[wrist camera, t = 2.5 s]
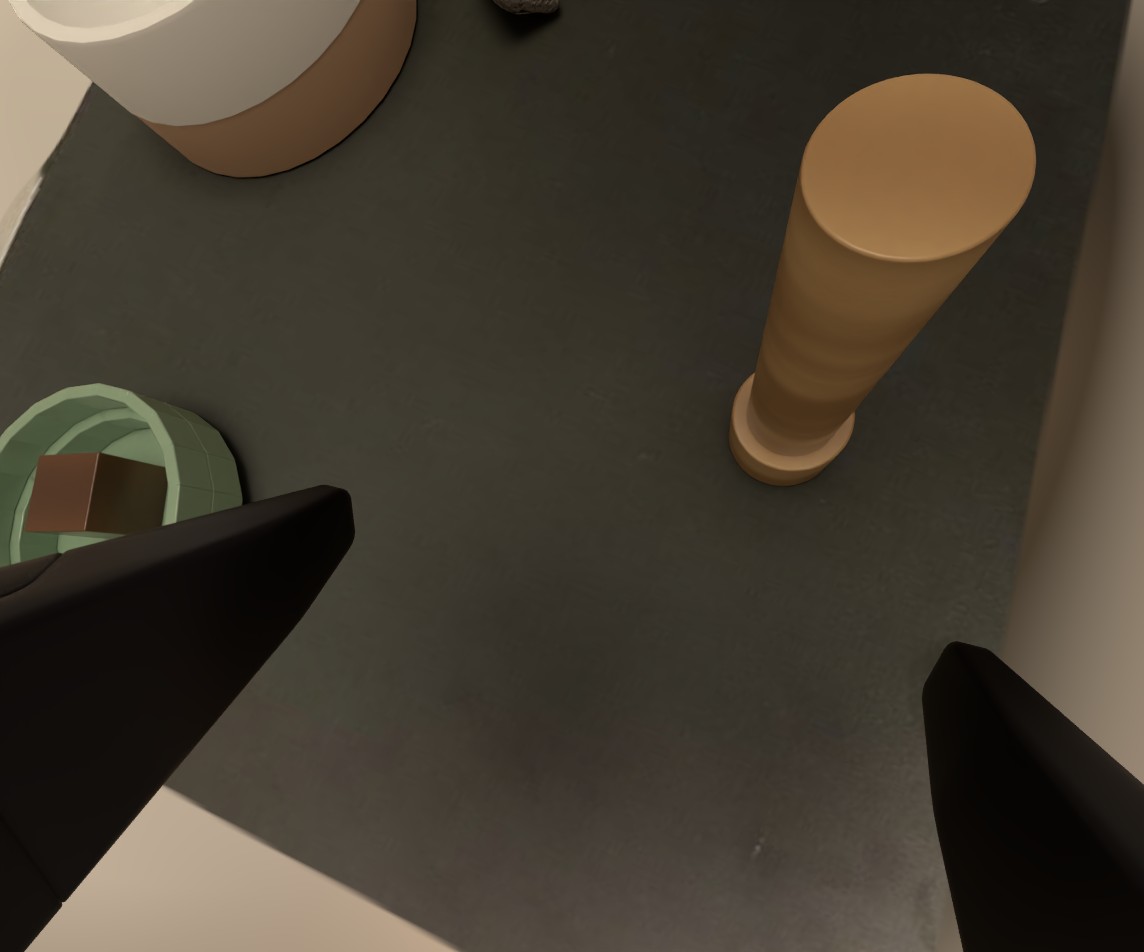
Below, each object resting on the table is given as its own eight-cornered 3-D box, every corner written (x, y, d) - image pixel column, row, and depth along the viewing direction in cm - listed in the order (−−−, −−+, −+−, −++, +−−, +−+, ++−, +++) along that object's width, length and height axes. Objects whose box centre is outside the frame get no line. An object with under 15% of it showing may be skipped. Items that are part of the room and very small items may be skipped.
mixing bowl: (198, 686, 26) (111, 703, 22) (19, 610, 29) (-83, 613, 26) (285, 436, 28) (217, 412, 24) (107, 391, 31) (22, 363, 27)
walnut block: (160, 538, 28) (84, 531, 24) (103, 538, 28) (22, 532, 25) (170, 467, 28) (99, 451, 25) (115, 470, 29) (38, 454, 26)
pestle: (824, 497, 22) (1057, 314, 7) (718, 473, 23) (737, 274, 8) (845, 398, 22) (1102, 45, 8) (741, 380, 23) (796, 40, 9)
